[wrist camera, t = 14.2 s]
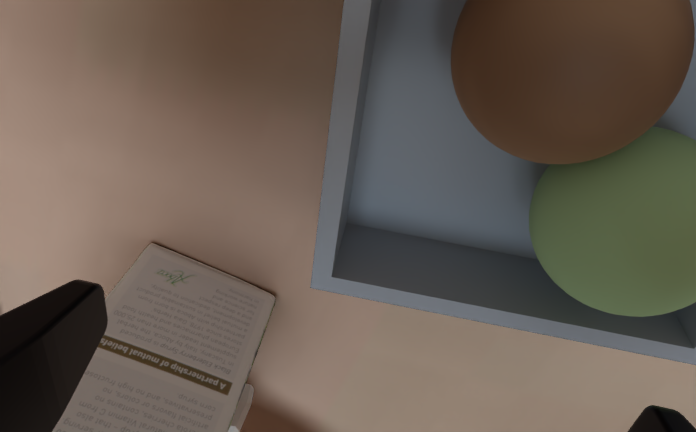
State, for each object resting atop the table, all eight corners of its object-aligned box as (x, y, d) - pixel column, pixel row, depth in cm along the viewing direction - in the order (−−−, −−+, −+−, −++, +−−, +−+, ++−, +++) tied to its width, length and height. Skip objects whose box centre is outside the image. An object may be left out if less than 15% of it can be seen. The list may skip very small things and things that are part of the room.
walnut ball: (599, 129, 15) (663, 224, 11) (429, 100, 15) (430, 182, 11) (681, -62, 12) (809, -33, 8) (474, -95, 13) (497, -83, 8)
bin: (662, 289, 18) (704, 366, 15) (330, 225, 19) (310, 288, 16) (908, -107, 12) (1063, -103, 9) (384, -185, 12) (367, -205, 9)
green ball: (643, 252, 17) (721, 372, 13) (494, 229, 17) (524, 341, 13) (721, 111, 15) (851, 206, 10) (544, 84, 15) (603, 167, 10)
